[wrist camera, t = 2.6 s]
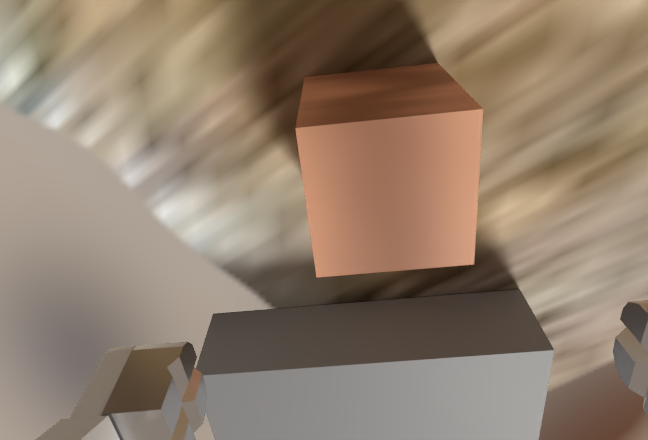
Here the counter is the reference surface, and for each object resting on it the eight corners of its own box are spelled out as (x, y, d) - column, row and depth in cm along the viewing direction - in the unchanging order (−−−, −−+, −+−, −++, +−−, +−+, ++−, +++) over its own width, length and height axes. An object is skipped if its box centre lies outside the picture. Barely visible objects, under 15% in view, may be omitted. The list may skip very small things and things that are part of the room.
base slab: (519, 289, 23) (554, 350, 19) (497, 477, 30) (519, 545, 27) (213, 313, 24) (193, 376, 20) (264, 490, 31) (256, 558, 28)
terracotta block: (437, 62, 18) (482, 108, 13) (436, 183, 20) (474, 264, 15) (304, 76, 18) (295, 128, 13) (319, 194, 20) (316, 277, 15)
